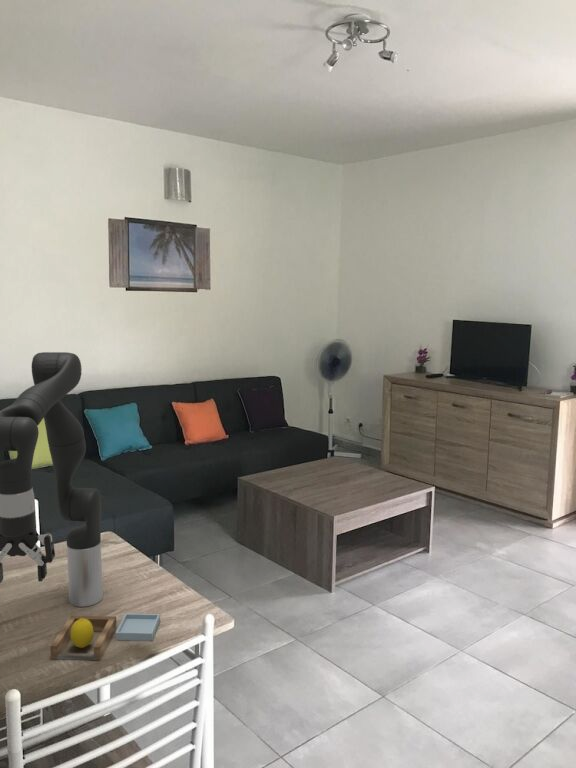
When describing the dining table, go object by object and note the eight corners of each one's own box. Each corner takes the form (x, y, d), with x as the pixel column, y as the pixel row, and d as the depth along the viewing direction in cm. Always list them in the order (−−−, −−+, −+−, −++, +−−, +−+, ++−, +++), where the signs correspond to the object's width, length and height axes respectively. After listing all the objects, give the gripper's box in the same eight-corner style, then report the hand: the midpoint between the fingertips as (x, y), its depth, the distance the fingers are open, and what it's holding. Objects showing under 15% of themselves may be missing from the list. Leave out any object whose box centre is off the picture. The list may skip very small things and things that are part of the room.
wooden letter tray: (71, 627, 168) (70, 615, 167) (116, 628, 168) (116, 616, 167) (51, 659, 154) (50, 646, 153) (100, 660, 154) (99, 647, 153)
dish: (125, 620, 172) (125, 613, 171) (160, 620, 172) (159, 614, 171) (115, 639, 162) (115, 632, 162) (152, 640, 162) (152, 633, 162)
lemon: (85, 639, 163) (84, 610, 161) (98, 647, 159) (97, 618, 158) (66, 648, 158) (65, 619, 157) (79, 657, 155) (77, 627, 154)
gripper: (55, 501, 137) (59, 571, 140) (-14, 503, 136) (-8, 573, 139) (46, 515, 130) (50, 588, 133) (-27, 517, 128) (-21, 590, 131)
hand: (20, 580), depth 136 cm, fingers open, 8 cm apart
